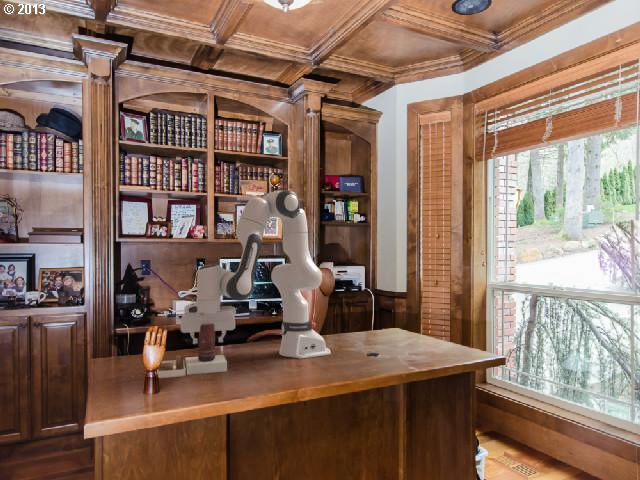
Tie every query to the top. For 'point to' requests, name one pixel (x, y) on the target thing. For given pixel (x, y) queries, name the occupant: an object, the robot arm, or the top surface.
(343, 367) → the top surface
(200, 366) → the white holder base
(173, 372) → the tray
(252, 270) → the robot arm
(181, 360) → the tile
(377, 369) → the top surface
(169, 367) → the tile
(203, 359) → the can
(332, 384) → the top surface
